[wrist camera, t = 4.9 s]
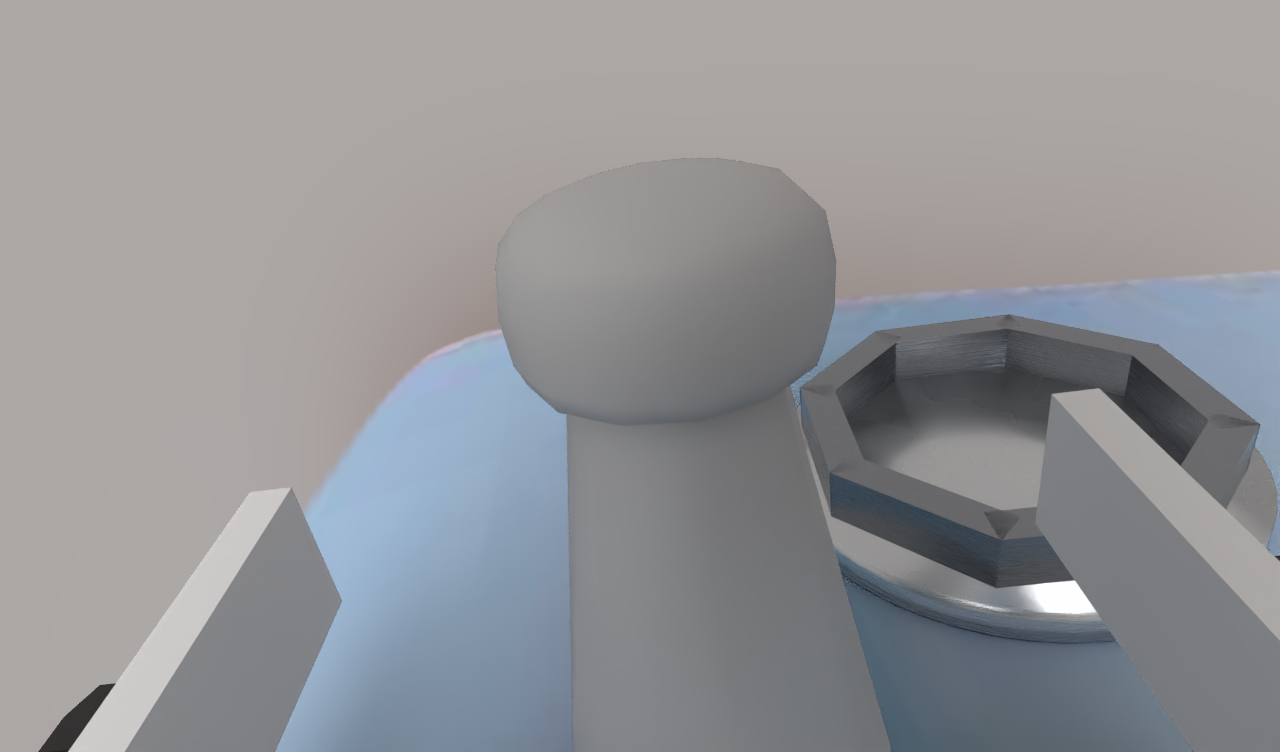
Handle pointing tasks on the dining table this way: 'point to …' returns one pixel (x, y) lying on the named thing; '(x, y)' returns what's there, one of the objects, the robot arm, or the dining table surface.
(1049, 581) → the steel collar
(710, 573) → the salt shaker
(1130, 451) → the robot arm
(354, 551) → the dining table surface
